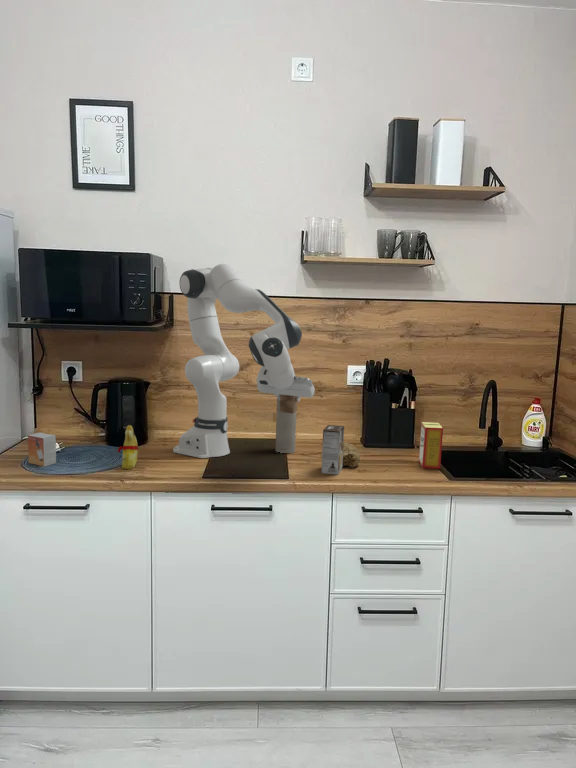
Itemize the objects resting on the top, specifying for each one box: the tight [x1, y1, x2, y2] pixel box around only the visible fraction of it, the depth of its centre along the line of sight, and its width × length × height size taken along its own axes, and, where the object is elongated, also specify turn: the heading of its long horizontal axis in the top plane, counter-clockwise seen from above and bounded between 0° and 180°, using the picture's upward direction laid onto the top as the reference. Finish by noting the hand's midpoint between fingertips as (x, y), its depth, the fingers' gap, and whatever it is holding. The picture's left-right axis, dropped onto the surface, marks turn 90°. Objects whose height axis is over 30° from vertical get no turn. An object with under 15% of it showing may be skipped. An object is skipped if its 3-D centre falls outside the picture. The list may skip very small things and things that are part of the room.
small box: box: [27, 432, 57, 467], centre depth 208 cm, size 8×6×10 cm
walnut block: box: [280, 394, 299, 413], centre depth 207 cm, size 5×5×8 cm
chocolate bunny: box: [116, 424, 139, 470], centre depth 208 cm, size 7×11×15 cm, turn 4°
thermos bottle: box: [275, 396, 297, 454], centre depth 232 cm, size 8×8×28 cm
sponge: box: [343, 441, 361, 468], centre depth 224 cm, size 13×8×20 cm
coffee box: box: [321, 424, 345, 476], centre depth 210 cm, size 9×6×16 cm
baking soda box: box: [418, 421, 444, 470], centre depth 221 cm, size 10×6×16 cm
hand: (289, 399), depth 208 cm, fingers closed on walnut block, 5 cm apart
